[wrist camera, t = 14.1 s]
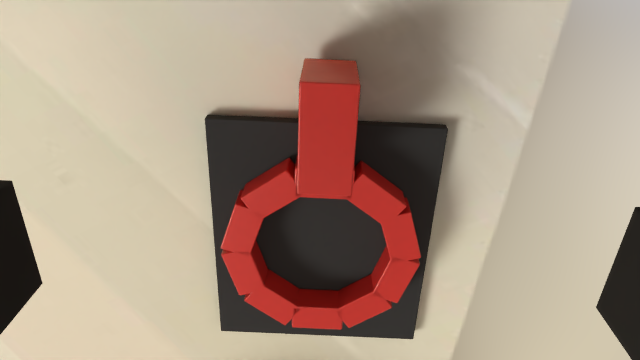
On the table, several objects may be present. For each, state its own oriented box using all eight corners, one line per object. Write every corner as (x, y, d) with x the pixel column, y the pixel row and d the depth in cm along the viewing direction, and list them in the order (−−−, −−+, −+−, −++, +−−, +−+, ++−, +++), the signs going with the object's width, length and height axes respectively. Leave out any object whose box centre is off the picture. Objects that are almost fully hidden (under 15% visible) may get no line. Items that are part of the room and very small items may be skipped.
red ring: (404, 314, 29) (414, 366, 26) (230, 305, 29) (216, 357, 26) (444, 64, 22) (465, 89, 19) (216, 53, 22) (194, 76, 19)
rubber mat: (445, 124, 24) (448, 128, 24) (411, 332, 31) (413, 339, 30) (207, 114, 24) (204, 118, 24) (223, 324, 31) (221, 331, 30)
